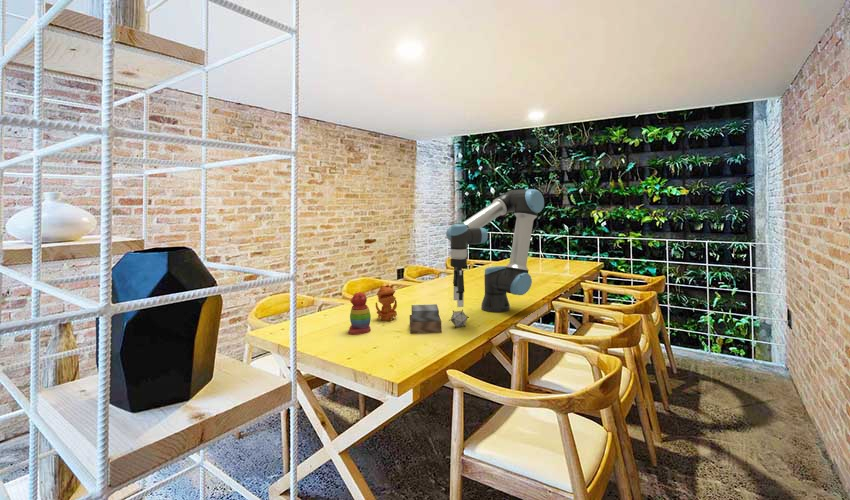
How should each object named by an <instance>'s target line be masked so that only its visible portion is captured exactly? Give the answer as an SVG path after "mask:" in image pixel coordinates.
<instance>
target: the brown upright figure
mask: <svg viewBox="0 0 850 500" xmlns="http://www.w3.org/2000/svg"><path fill="white" fill-rule="evenodd" d="M395 294H396V290H395V289H394V285H389V284H387V285H385V286H382V285H380V287H379V290H378V291H377V292H376V296H377V300H378V302H379V303H380V304H381V305H382V306H381V309H380V308H379V305H378V302H375V308H376V314H377V318H378V319H381V321H384V322H388V321H392V320H393V319H394V318H397V316H398V313H397V310H396V309H397V307H398V303H397V298H396V297H395V296H394V295H395ZM392 304H393V306H392Z"/></svg>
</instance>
